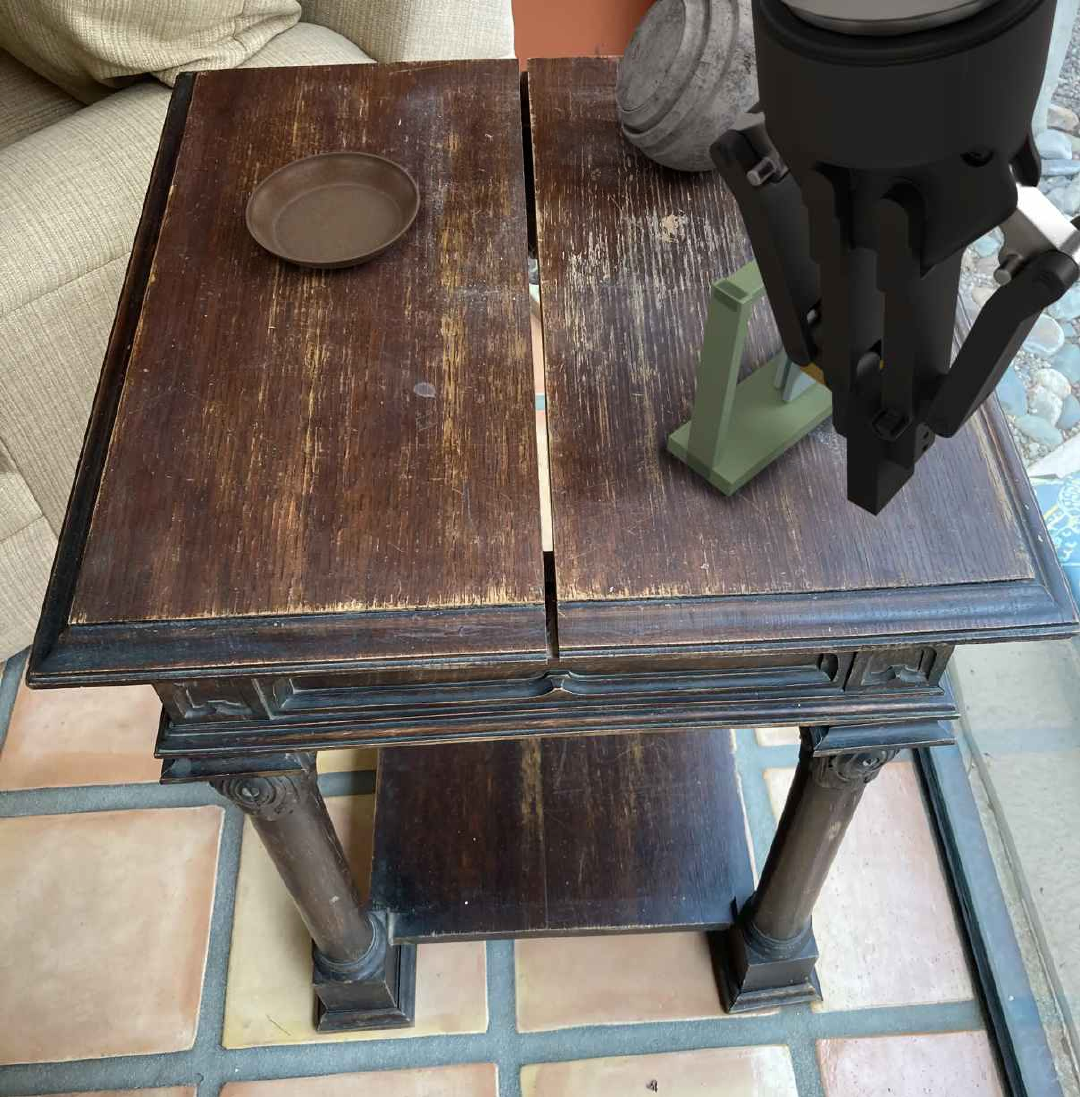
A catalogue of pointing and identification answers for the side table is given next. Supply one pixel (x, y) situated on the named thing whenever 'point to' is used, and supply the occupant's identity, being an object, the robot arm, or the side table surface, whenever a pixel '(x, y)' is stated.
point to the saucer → (333, 209)
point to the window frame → (741, 396)
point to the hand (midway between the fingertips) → (880, 486)
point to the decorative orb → (687, 79)
